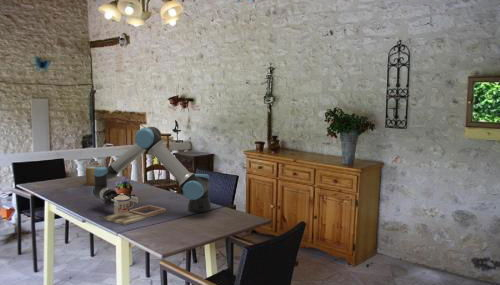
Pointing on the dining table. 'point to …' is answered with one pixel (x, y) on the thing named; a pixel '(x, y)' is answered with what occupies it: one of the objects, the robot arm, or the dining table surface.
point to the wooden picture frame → (158, 211)
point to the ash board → (124, 218)
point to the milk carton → (91, 173)
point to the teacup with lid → (123, 205)
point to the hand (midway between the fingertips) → (127, 202)
